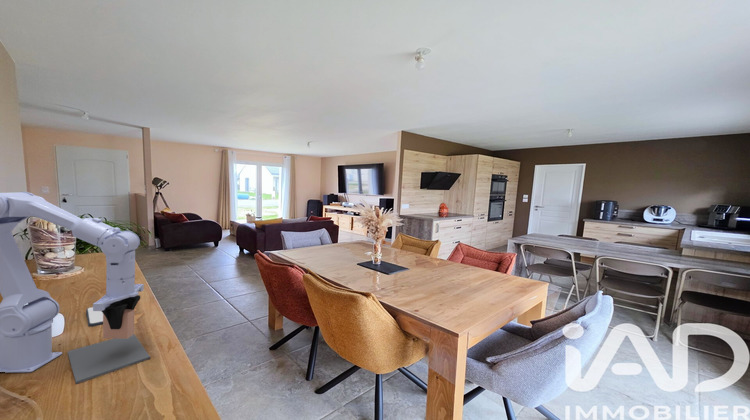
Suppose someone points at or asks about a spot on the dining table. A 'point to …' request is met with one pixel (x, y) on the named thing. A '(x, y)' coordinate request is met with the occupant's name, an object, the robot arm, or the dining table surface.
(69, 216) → the robot arm
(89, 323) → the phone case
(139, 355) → the mat
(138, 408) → the dining table surface
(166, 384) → the dining table surface
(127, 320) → the tile
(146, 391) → the dining table surface
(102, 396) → the dining table surface
